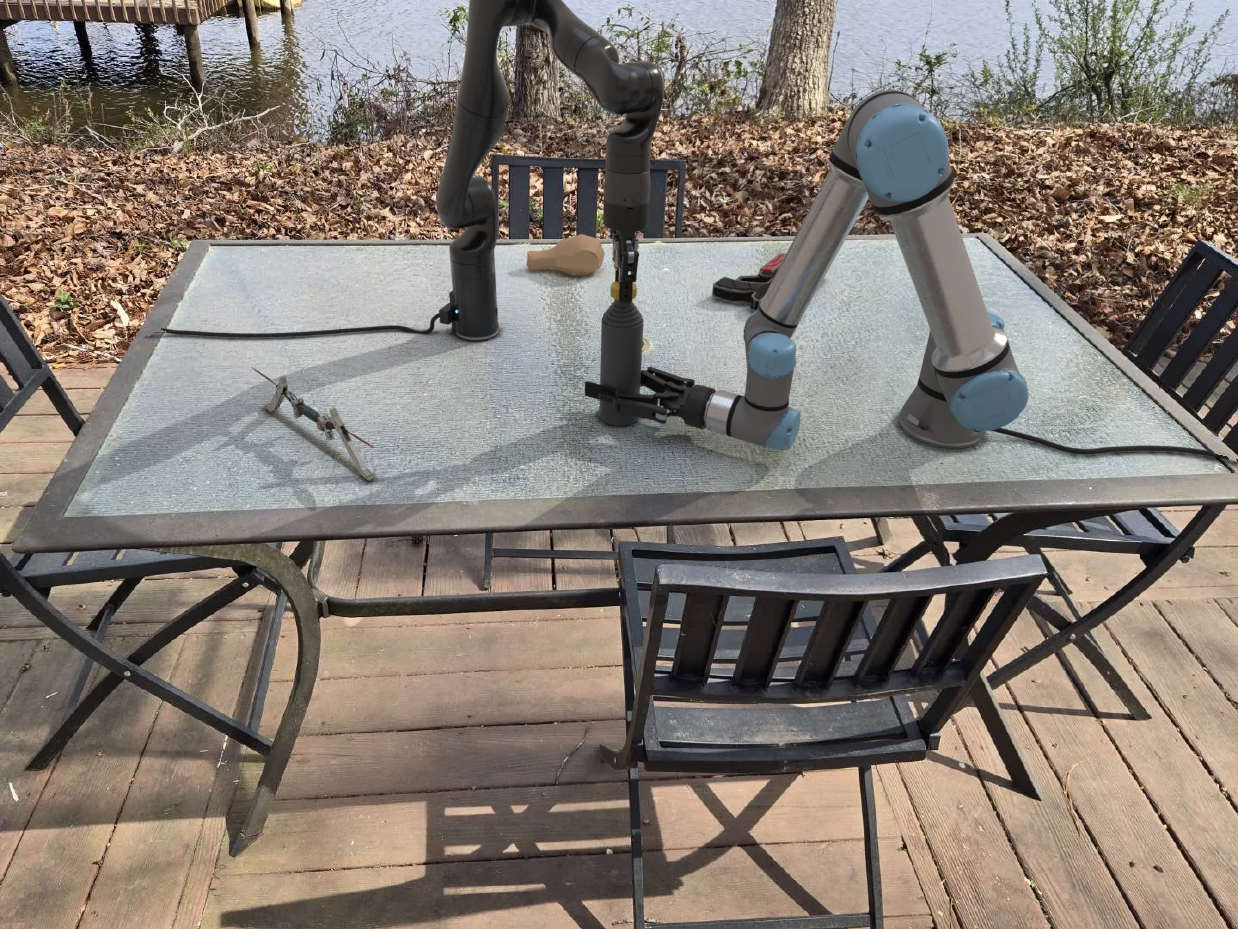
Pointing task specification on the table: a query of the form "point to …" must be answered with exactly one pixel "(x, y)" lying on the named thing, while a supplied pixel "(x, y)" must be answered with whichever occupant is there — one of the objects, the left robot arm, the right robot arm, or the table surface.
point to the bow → (319, 423)
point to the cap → (615, 290)
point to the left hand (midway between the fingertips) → (623, 295)
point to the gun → (748, 285)
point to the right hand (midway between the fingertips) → (596, 379)
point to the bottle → (620, 356)
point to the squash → (569, 256)
